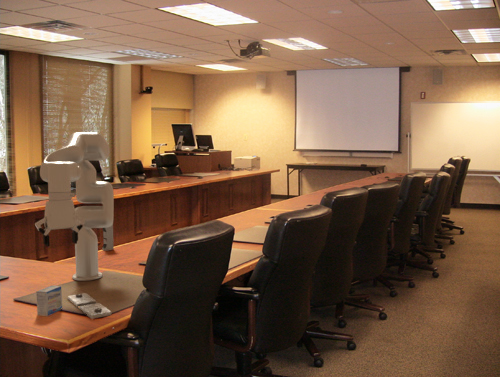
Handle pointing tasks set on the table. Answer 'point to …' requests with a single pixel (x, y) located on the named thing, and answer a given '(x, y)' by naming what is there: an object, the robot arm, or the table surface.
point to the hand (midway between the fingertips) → (61, 244)
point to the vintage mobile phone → (108, 238)
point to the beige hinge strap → (89, 305)
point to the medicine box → (49, 300)
